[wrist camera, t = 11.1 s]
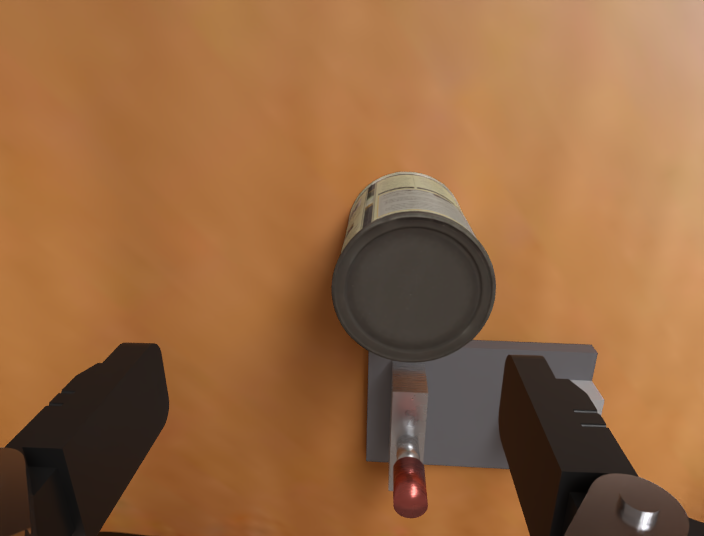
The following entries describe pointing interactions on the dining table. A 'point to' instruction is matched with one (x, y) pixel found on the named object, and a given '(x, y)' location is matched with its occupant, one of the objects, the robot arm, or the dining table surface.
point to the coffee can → (411, 271)
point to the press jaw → (408, 438)
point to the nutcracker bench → (469, 399)
